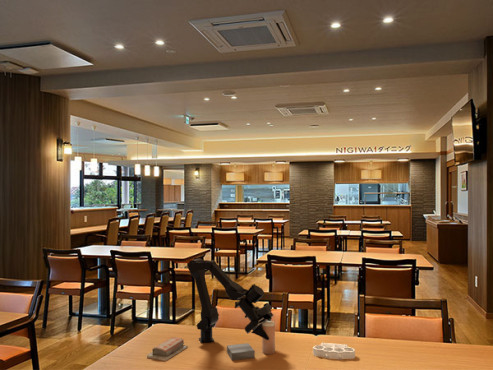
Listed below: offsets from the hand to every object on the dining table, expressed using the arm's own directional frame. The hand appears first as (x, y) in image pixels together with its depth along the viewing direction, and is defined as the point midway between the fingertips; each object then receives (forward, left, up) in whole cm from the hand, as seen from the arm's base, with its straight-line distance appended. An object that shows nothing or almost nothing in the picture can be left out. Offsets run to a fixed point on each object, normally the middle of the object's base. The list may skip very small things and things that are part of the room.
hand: (271, 337), depth 193 cm
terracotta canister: (-1, -1, -7) cm, 7 cm away
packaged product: (-13, -44, -7) cm, 47 cm away
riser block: (-1, -14, -7) cm, 16 cm away
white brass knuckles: (+9, +26, -7) cm, 28 cm away
